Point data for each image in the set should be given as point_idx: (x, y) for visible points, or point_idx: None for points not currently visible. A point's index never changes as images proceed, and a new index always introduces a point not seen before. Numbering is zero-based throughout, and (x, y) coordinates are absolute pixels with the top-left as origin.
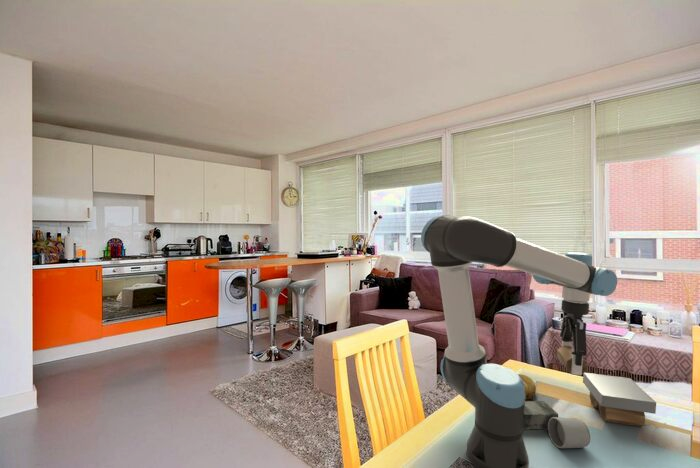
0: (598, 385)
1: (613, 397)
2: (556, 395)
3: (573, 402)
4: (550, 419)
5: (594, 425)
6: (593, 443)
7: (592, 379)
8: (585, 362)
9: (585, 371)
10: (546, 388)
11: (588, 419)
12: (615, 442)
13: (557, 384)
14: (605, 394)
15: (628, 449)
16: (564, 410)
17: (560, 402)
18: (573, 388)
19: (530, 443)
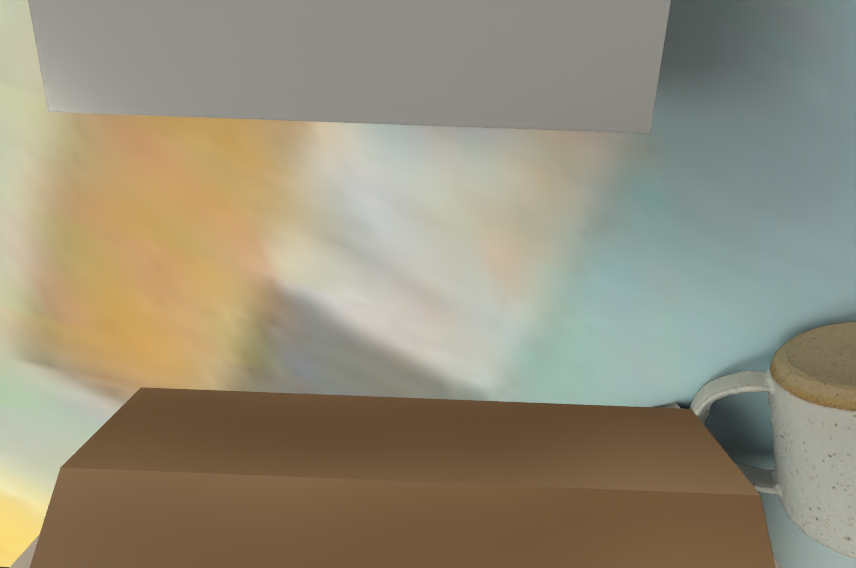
0: (398, 69)
1: (667, 9)
2: (218, 282)
3: (287, 192)
4: (845, 551)
5: (587, 160)
6: (795, 249)
7: (237, 76)
8: (769, 539)
9: (682, 413)
10: (128, 320)
11: (514, 172)
12: (775, 102)
13: (9, 218)
14: (629, 86)
15: (848, 48)
16: (430, 294)
17: (321, 286)
18: (23, 106)
19: (814, 553)
